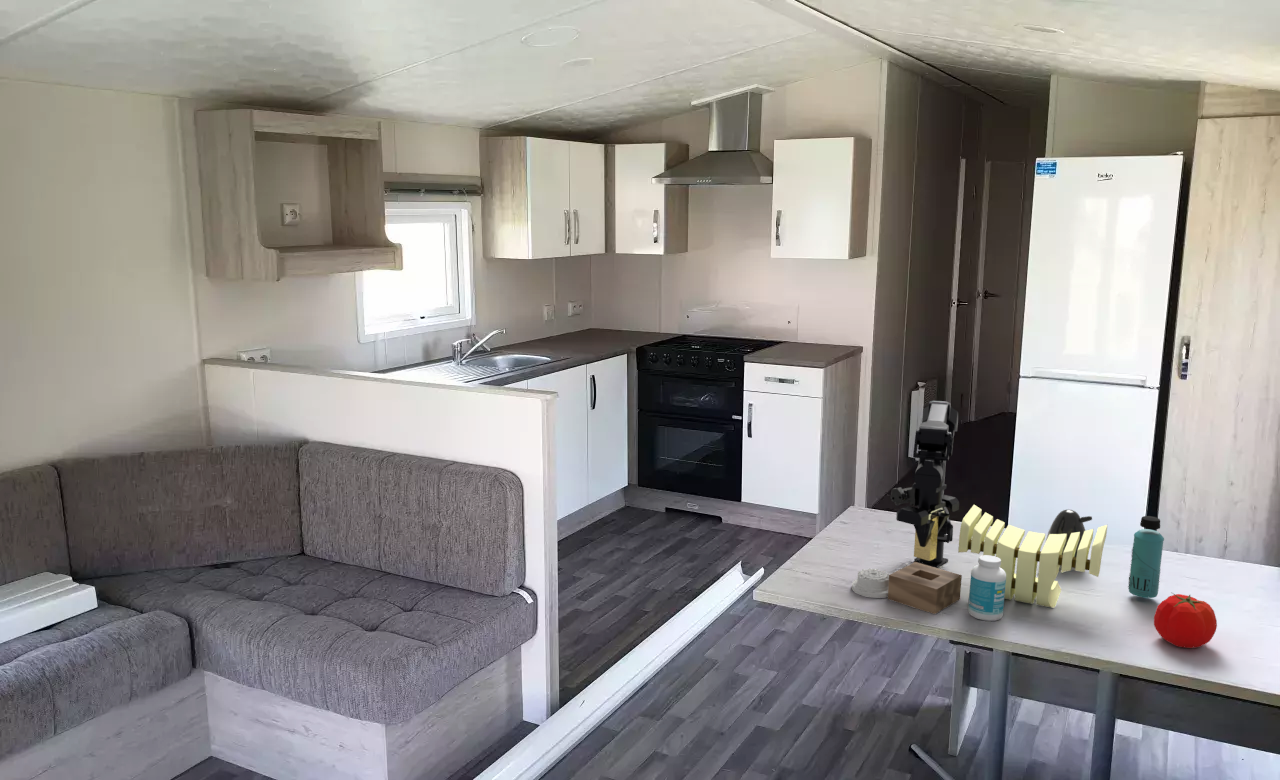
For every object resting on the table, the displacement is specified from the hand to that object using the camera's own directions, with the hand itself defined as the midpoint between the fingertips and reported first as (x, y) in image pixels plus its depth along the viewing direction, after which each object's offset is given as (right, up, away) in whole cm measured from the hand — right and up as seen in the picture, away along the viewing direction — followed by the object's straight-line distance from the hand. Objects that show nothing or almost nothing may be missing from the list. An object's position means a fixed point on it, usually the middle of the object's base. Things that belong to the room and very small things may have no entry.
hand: (926, 544), depth 224 cm
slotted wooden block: (0, -13, +2) cm, 13 cm away
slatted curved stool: (+26, -13, +5) cm, 29 cm away
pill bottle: (+11, -15, -7) cm, 20 cm away
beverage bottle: (+52, -13, +3) cm, 53 cm away
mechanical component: (-10, -12, +7) cm, 18 cm away
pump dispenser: (+42, -10, +23) cm, 49 cm away
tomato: (+48, -18, -20) cm, 55 cm away
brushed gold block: (0, -3, +1) cm, 3 cm away
